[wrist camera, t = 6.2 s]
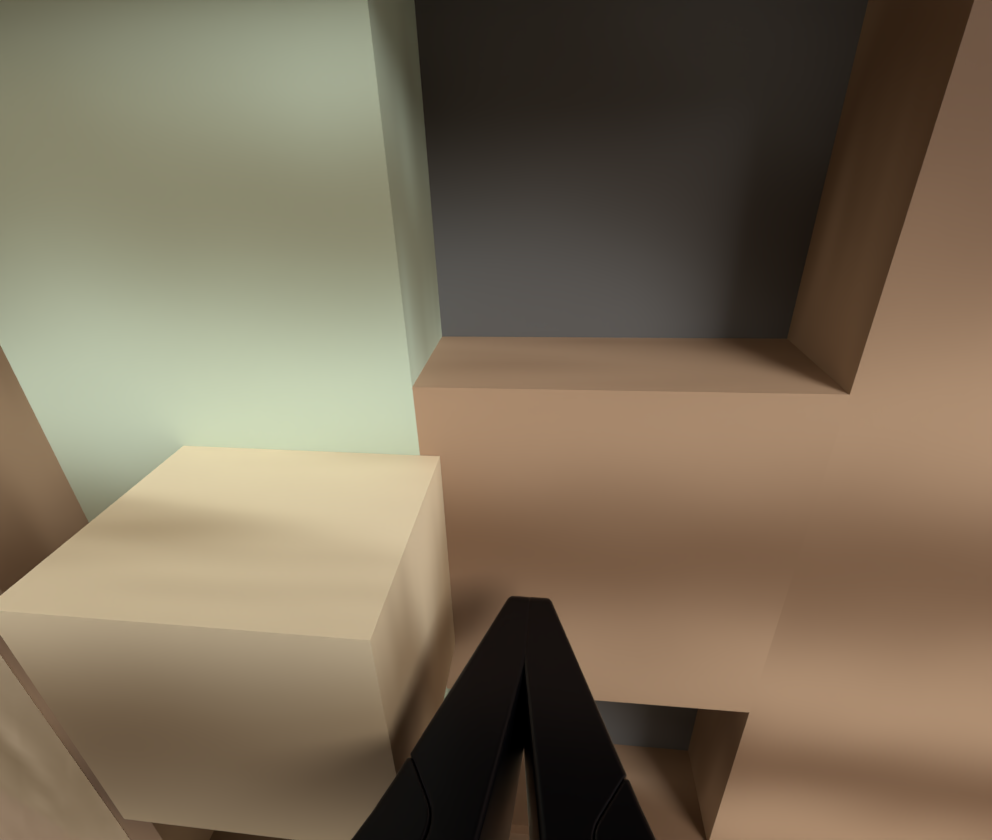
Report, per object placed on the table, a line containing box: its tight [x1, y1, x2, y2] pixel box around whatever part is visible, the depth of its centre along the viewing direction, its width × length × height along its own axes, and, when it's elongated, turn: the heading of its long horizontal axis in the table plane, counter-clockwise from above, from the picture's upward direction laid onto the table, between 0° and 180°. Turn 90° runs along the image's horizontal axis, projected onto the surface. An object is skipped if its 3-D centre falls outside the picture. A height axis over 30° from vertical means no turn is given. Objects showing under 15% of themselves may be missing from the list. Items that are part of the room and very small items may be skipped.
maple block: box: [0, 446, 455, 840], centre depth 9 cm, size 5×5×4 cm
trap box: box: [0, 0, 992, 840], centre depth 11 cm, size 23×25×5 cm
